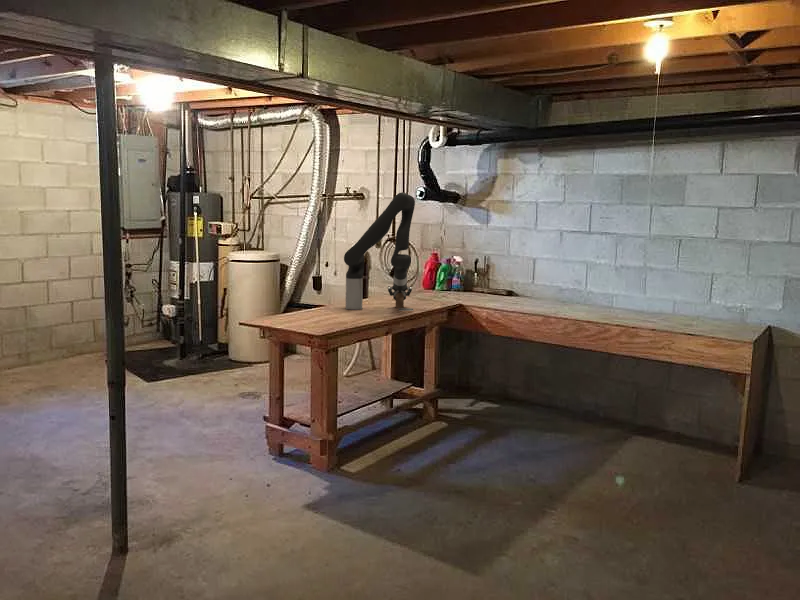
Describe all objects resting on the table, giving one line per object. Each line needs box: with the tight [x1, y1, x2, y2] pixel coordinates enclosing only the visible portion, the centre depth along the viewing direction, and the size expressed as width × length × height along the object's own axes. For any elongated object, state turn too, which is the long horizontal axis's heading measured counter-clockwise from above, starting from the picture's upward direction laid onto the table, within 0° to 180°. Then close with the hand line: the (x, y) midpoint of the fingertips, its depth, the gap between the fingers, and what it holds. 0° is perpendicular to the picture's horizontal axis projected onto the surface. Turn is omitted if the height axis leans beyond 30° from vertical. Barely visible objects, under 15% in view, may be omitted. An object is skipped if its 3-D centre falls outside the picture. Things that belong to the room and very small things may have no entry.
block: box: [394, 293, 405, 309], centre depth 380 cm, size 4×4×11 cm
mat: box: [398, 307, 414, 312], centre depth 373 cm, size 8×8×1 cm
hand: (399, 298), depth 382 cm, fingers closed on block, 4 cm apart
